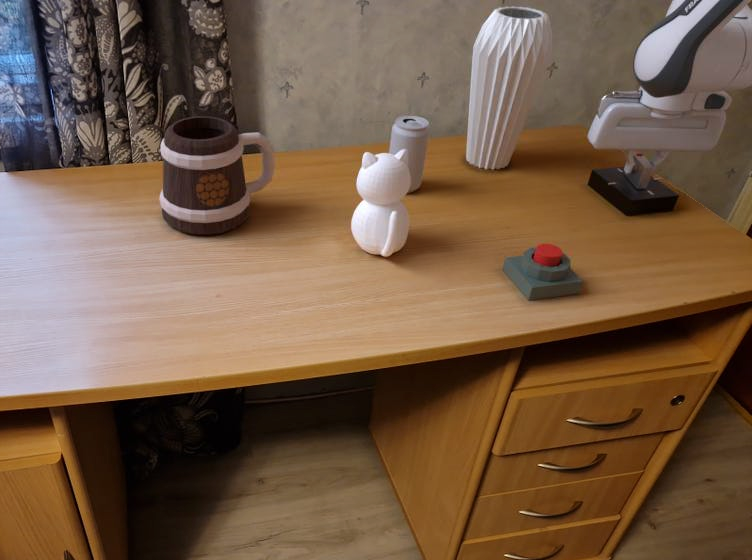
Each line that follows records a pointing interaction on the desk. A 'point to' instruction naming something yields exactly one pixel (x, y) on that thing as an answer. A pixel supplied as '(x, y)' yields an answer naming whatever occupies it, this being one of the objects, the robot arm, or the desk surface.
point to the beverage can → (411, 145)
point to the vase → (505, 81)
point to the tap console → (632, 192)
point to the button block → (541, 276)
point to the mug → (208, 175)
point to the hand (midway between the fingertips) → (638, 172)
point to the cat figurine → (382, 203)
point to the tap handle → (641, 172)
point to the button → (548, 255)
